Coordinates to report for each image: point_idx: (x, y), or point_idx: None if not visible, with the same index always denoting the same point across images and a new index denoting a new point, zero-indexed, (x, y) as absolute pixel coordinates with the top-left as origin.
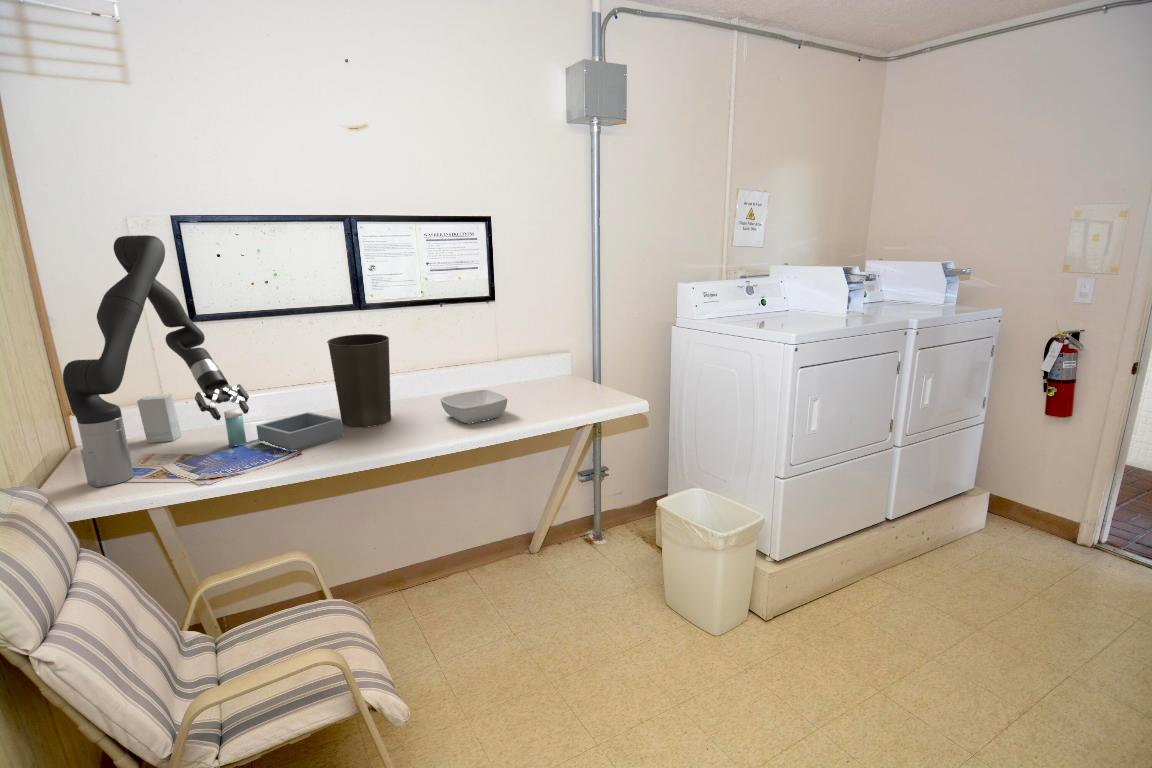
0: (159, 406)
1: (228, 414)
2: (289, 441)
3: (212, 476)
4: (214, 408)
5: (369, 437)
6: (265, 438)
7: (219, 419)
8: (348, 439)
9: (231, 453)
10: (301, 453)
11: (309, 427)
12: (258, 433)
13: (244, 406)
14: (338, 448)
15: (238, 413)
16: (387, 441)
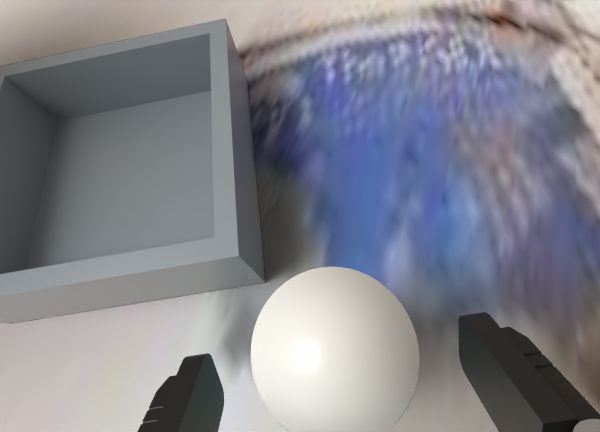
0: None
1: (390, 297)
2: (236, 50)
3: (512, 37)
4: (554, 403)
5: None
6: (251, 209)
7: (463, 348)
8: None
9: (405, 228)
10: None
11: (129, 44)
12: (251, 258)
13: (187, 391)
14: None
15: (308, 273)
16: (50, 10)
